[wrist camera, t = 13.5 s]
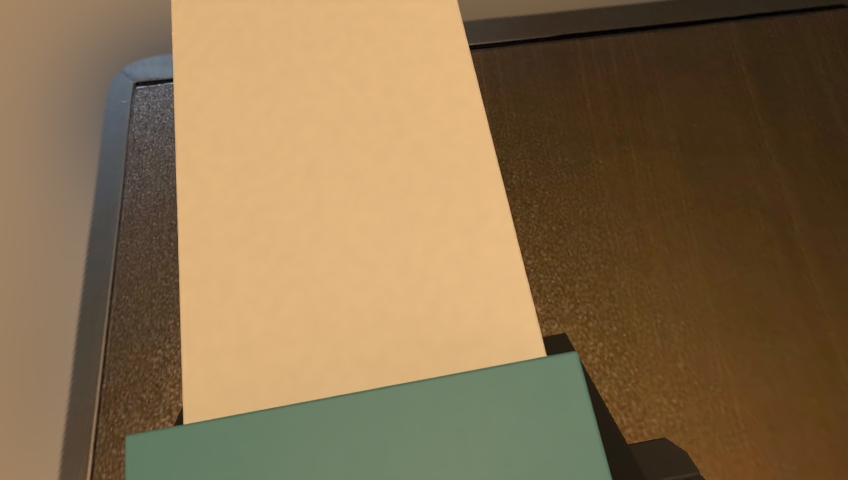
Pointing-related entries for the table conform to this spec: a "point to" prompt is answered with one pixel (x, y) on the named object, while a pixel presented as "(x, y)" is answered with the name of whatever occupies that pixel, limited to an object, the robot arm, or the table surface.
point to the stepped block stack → (351, 260)
